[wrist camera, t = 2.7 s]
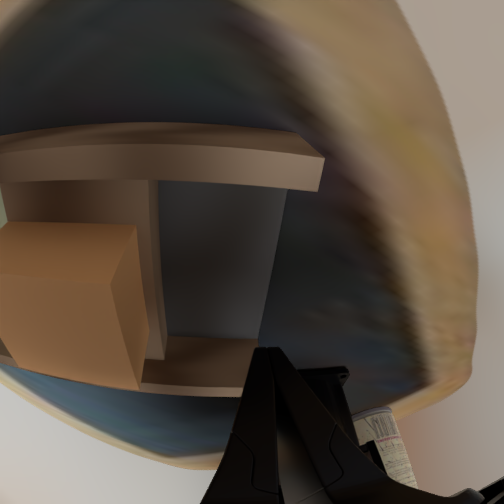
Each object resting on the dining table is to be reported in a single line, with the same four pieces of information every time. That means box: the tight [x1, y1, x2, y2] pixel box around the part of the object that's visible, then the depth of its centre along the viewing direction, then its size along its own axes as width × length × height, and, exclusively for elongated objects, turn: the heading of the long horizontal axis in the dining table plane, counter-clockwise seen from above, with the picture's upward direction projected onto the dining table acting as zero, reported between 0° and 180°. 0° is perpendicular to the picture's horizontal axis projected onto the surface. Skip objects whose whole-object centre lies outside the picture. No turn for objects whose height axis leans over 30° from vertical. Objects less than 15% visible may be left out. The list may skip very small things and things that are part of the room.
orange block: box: [0, 222, 150, 390], centre depth 10 cm, size 6×6×3 cm
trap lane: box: [0, 122, 325, 397], centre depth 11 cm, size 22×12×4 cm, turn 83°
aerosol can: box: [352, 407, 418, 489], centre depth 19 cm, size 7×7×20 cm
